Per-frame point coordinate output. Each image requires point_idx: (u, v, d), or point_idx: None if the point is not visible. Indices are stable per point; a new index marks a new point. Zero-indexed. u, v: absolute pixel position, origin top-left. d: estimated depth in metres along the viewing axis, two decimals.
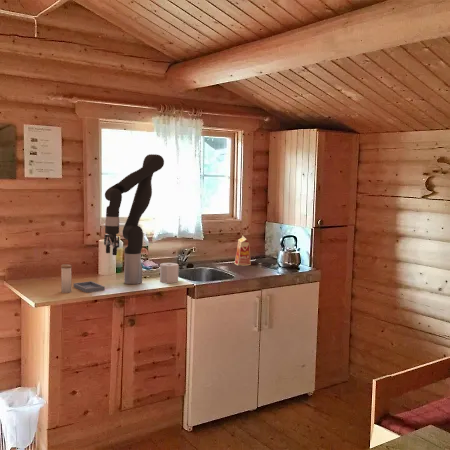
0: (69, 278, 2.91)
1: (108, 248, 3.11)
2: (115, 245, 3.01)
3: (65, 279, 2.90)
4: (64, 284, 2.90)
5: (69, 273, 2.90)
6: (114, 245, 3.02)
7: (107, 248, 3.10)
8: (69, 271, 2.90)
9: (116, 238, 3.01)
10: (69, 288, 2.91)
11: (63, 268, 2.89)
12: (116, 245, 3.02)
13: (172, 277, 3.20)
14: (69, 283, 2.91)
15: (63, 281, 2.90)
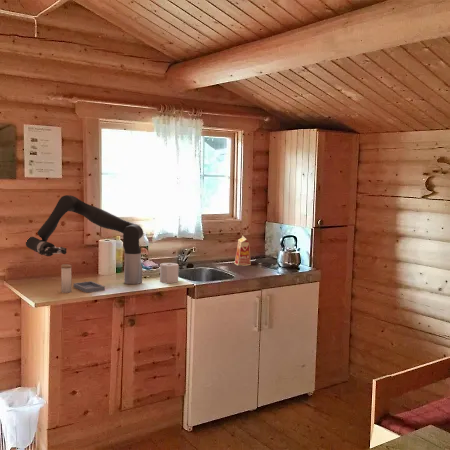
0: (69, 278, 2.91)
1: (62, 251, 3.04)
2: None
3: (65, 279, 2.90)
4: (64, 284, 2.90)
5: (69, 273, 2.90)
6: None
7: (62, 252, 3.04)
8: (69, 271, 2.90)
9: (38, 252, 3.02)
10: (69, 288, 2.91)
11: (63, 268, 2.89)
12: (41, 252, 2.99)
13: (172, 277, 3.20)
14: (69, 283, 2.91)
15: (63, 281, 2.90)
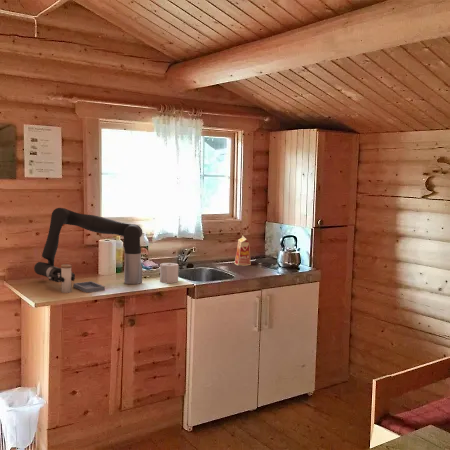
0: (69, 278, 2.91)
1: None
2: (53, 280, 2.91)
3: (65, 279, 2.90)
4: (64, 284, 2.90)
5: (69, 273, 2.90)
6: (55, 280, 2.91)
7: None
8: (69, 271, 2.90)
9: (49, 278, 2.93)
10: (69, 288, 2.91)
11: (63, 268, 2.89)
12: None
13: (172, 277, 3.20)
14: (69, 283, 2.91)
15: None
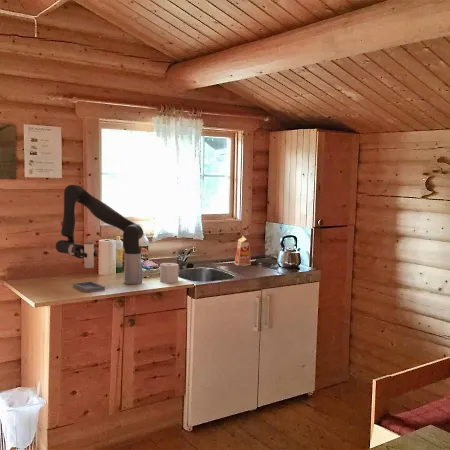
0: (92, 254, 2.98)
1: None
2: (76, 256, 2.98)
3: (88, 254, 2.97)
4: (87, 260, 2.97)
5: (92, 249, 2.97)
6: (78, 256, 2.98)
7: None
8: (92, 247, 2.97)
9: (72, 254, 3.00)
10: (92, 264, 2.98)
11: (86, 244, 2.96)
12: None
13: (172, 277, 3.20)
14: (92, 259, 2.98)
15: (86, 257, 2.97)
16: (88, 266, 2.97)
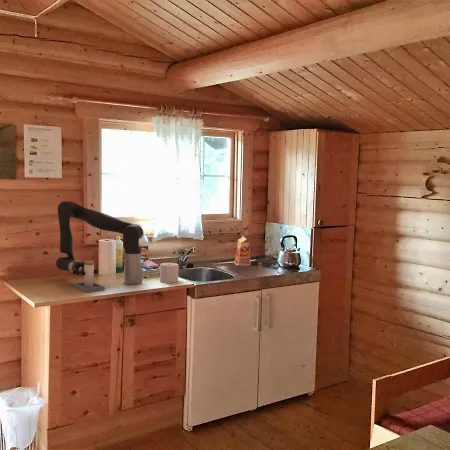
0: (92, 274, 2.99)
1: (94, 271, 3.03)
2: None
3: (88, 275, 2.98)
4: (87, 280, 2.98)
5: (92, 269, 2.99)
6: None
7: (94, 272, 3.03)
8: (92, 267, 2.99)
9: (71, 272, 3.02)
10: (92, 284, 3.00)
11: (86, 265, 2.97)
12: (75, 272, 2.99)
13: (172, 277, 3.20)
14: (92, 279, 2.99)
15: (86, 277, 2.98)
16: (88, 286, 2.99)
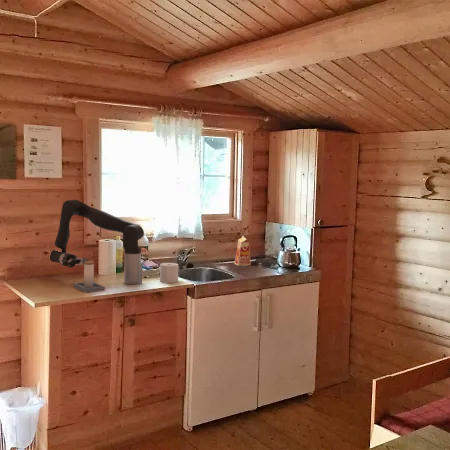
0: (92, 274, 2.99)
1: None
2: (64, 265, 3.09)
3: (88, 275, 2.98)
4: (87, 280, 2.99)
5: (92, 269, 2.99)
6: (65, 265, 3.09)
7: None
8: (92, 267, 2.99)
9: (61, 263, 3.12)
10: (91, 284, 3.00)
11: (86, 264, 2.98)
12: None
13: (172, 277, 3.20)
14: (91, 279, 3.00)
15: (86, 277, 2.99)
16: (88, 286, 2.99)
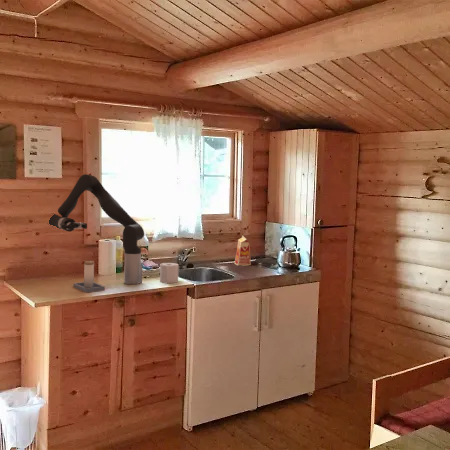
0: (92, 274, 2.99)
1: (83, 226, 3.12)
2: (62, 228, 3.08)
3: (88, 275, 2.98)
4: (87, 280, 2.98)
5: (92, 269, 2.99)
6: (63, 228, 3.08)
7: (83, 227, 3.12)
8: (92, 267, 2.99)
9: (60, 226, 3.11)
10: (91, 284, 3.00)
11: (86, 264, 2.98)
12: (63, 227, 3.08)
13: (172, 277, 3.20)
14: (92, 279, 2.99)
15: (86, 277, 2.98)
16: (88, 286, 2.99)
